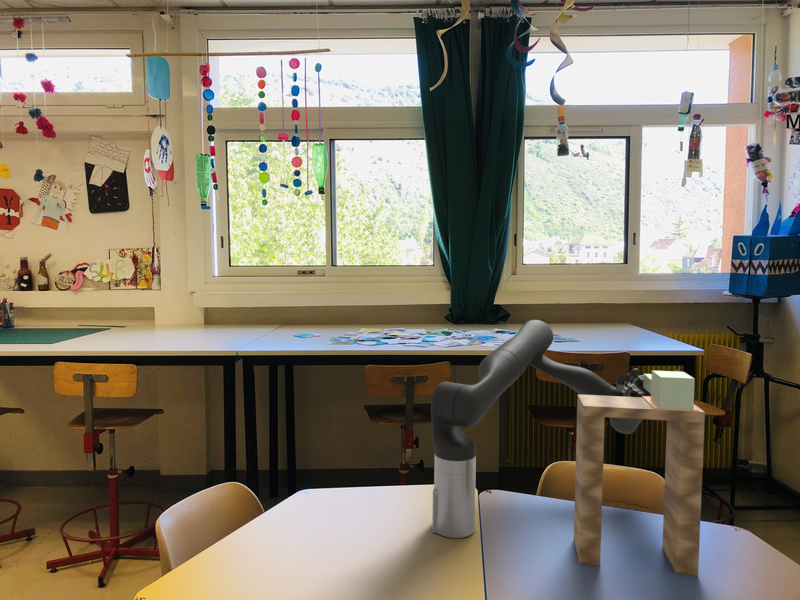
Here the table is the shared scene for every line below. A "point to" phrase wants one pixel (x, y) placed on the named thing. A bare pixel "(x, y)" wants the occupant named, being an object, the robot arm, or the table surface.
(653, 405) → the card
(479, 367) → the robot arm
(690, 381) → the pale green bar
